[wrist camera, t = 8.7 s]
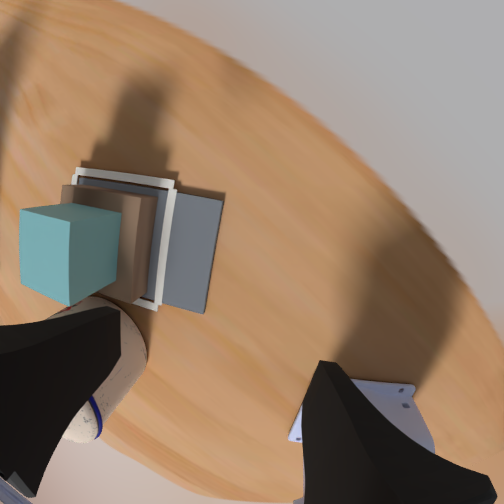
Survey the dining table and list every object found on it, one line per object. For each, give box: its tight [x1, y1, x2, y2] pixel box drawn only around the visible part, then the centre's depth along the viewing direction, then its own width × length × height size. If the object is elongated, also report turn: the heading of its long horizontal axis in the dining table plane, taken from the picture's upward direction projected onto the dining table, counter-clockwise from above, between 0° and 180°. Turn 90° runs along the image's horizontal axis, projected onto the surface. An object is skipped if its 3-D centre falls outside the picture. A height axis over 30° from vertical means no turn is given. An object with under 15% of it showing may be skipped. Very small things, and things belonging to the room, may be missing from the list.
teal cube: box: [19, 203, 122, 307], centre depth 15 cm, size 4×4×5 cm
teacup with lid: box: [45, 297, 147, 443], centre depth 17 cm, size 12×9×12 cm
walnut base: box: [60, 184, 158, 304], centre depth 18 cm, size 7×7×2 cm
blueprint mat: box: [71, 167, 224, 314], centre depth 20 cm, size 13×10×1 cm
